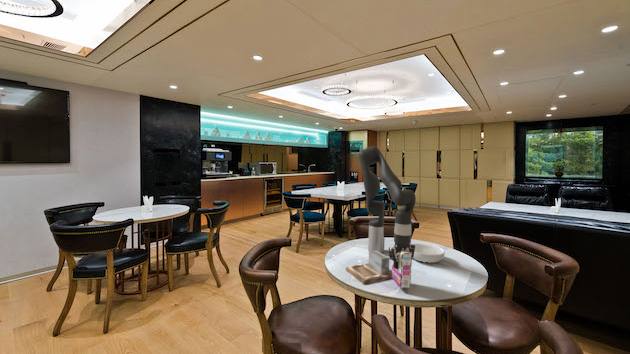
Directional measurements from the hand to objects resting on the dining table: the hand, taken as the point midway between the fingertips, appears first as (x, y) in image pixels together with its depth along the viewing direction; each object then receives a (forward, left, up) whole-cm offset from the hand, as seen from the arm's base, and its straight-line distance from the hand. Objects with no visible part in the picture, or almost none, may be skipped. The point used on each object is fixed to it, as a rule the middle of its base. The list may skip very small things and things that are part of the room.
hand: (401, 267), depth 123 cm
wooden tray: (+5, -17, -9) cm, 20 cm away
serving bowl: (-37, -21, -10) cm, 43 cm away
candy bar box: (0, 0, -8) cm, 8 cm away
